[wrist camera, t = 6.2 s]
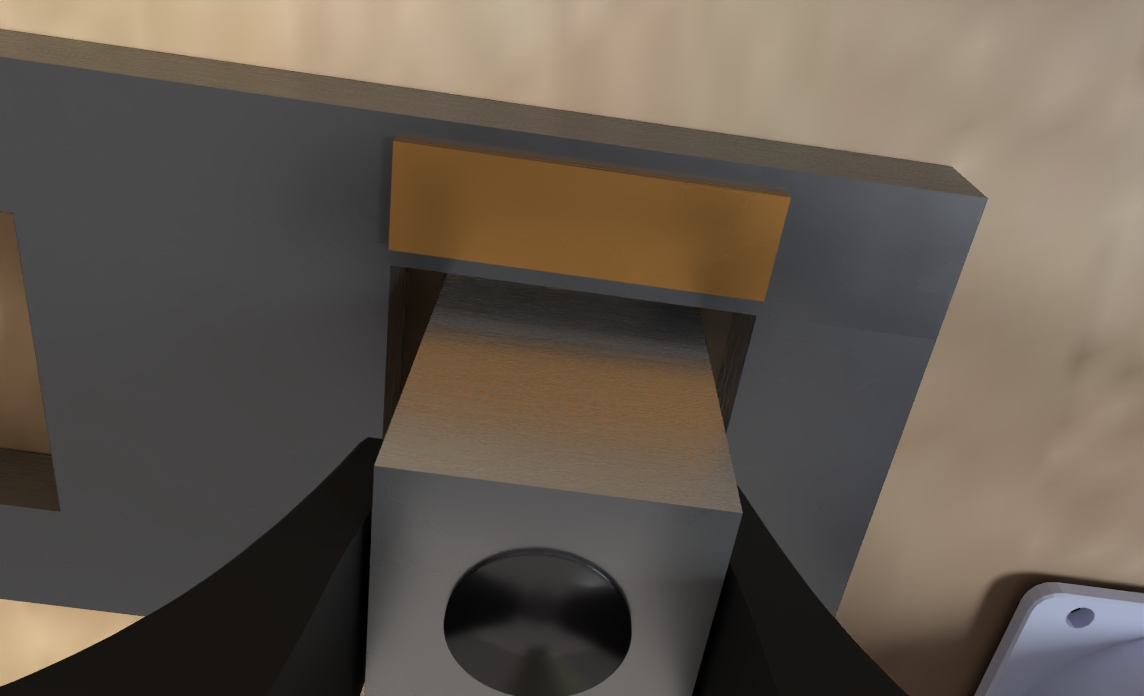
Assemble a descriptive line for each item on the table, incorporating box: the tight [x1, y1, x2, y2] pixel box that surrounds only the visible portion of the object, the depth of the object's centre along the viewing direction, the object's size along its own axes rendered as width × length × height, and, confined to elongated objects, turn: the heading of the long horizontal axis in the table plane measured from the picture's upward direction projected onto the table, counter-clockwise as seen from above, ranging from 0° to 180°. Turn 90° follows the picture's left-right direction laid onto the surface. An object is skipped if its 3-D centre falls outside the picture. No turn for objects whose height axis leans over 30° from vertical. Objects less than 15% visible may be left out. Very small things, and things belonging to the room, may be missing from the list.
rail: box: [0, 29, 988, 618], centre depth 15 cm, size 22×10×2 cm, turn 82°
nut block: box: [365, 273, 743, 696], centre depth 13 cm, size 4×4×6 cm
